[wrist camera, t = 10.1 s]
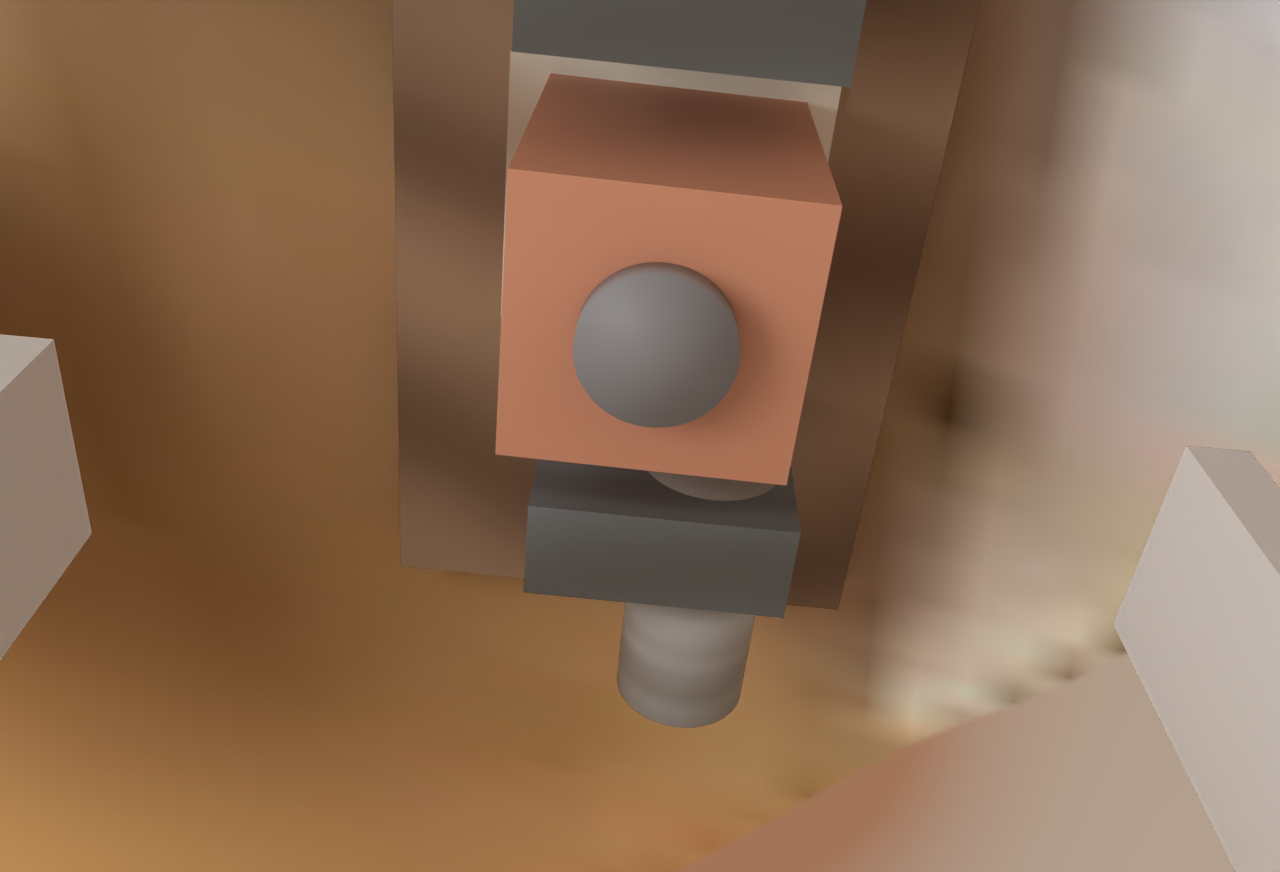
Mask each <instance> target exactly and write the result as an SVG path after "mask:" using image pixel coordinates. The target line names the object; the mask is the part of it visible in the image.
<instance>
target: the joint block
mask: <svg viewBox="0 0 1280 872" xmlns="http://www.w3.org/2000/svg"><path fill="white" fill-rule="evenodd" d="M841 211H842V203H841V200H840V197H839V194H838V191H837V188H836V185H835V182H834V180H833V177H832V174H831V171H830V168H829V165H828V162H827V159H826V156H825V153H824V150H823V147H822V144H821V141H820V138H819V136H818V133H817V130H816V127H815V124H814V121H813V118H812V115H811V112H810V109H809V106H808V103H807V102H800V101H791V100H782V99H774V98H765V97H756V96H747V95H738V94H729V93H721V92H712V91H703V90H694V89H685V88H676V87H668V86H659V85H650V84H641V83H632V82H623V81H615V80H606V79H597V78H588V77H579V76H570V75H562V74H553V73H550V76H549V78H548V80H547V82H546V84H545V87H544V89H543V91H542V93H541V96H540V98H539V100H538V102H537V105H536V107H535V109H534V111H533V114H532V116H531V118H530V120H529V122H528V125H527V127H526V129H525V131H524V134H523V136H522V138H521V140H520V143H519V145H518V147H517V149H516V152H515V154H514V156H513V158H512V160H511V163H510V165H509V167H508V177H507V200H506V223H505V246H504V268H503V291H502V314H501V337H500V359H499V382H498V405H497V427H496V450H495V454H496V455H505V456H515V457H524V458H533V459H543V460H552V461H561V462H571V463H580V464H590V465H599V466H608V467H618V468H627V469H636V470H646V471H655V472H664V473H674V474H683V475H693V476H702V477H711V478H721V479H730V480H739V481H749V482H758V483H767V484H777V485H786V486H787V481H788V476H789V471H790V466H791V461H792V456H793V451H794V446H795V441H796V436H797V431H798V426H799V421H800V416H801V411H802V406H803V401H804V396H805V391H806V386H807V381H808V376H809V371H810V366H811V361H812V356H813V351H814V346H815V341H816V336H817V331H818V326H819V321H820V316H821V311H822V306H823V301H824V296H825V291H826V286H827V281H828V276H829V271H830V266H831V261H832V256H833V251H834V246H835V241H836V236H837V231H838V226H839V221H840V216H841Z"/></svg>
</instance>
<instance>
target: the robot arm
mask: <svg viewBox="0 0 1280 872" xmlns="http://www.w3.org/2000/svg"><path fill="white" fill-rule="evenodd" d="M91 534H92V531H91V526H90V521H89V516H88V511H87V506H86V501H85V495H84V490H83V485H82V480H81V475H80V470H79V465H78V460H77V455H76V450H75V445H74V439H73V434H72V429H71V424H70V419H69V414H68V409H67V404H66V399H65V394H64V388H63V383H62V378H61V373H60V368H59V363H58V358H57V353H56V348H55V343H54V339H45V338H35V337H24V336H13V335H3V334H0V660H1V659H2V658H3V656H4V655H5V653H6V652H7V651H8V649H9V648H10V647H11V645H12V644H13V642H14V641H15V640H16V638H17V637H18V635H19V634H20V633H21V631H22V630H23V628H24V627H25V626H26V624H27V623H28V622H29V620H30V619H31V617H32V616H33V615H34V613H35V612H36V610H37V609H38V608H39V606H40V605H41V604H42V602H43V601H44V599H45V598H46V597H47V595H48V594H49V592H50V591H51V590H52V588H53V587H54V585H55V584H56V583H57V581H58V580H59V579H60V577H61V576H62V574H63V573H64V572H65V570H66V569H67V567H68V566H69V565H70V563H71V562H72V560H73V559H74V558H75V556H76V555H77V554H78V552H79V551H80V549H81V548H82V547H83V545H84V544H85V542H86V541H87V540H88V538H89V537H90V536H91ZM1113 625H1114V627H1115V629H1116V631H1117V633H1118V635H1119V637H1120V639H1121V641H1122V644H1123V646H1124V648H1125V650H1126V652H1127V654H1128V656H1129V658H1130V660H1131V662H1132V664H1133V666H1134V668H1135V670H1136V672H1137V674H1138V676H1139V678H1140V680H1141V682H1142V684H1143V686H1144V688H1145V690H1146V692H1147V694H1148V696H1149V698H1150V700H1151V702H1152V704H1153V706H1154V709H1155V710H1156V713H1157V714H1158V717H1159V719H1160V721H1161V723H1162V725H1163V727H1164V729H1165V731H1166V733H1167V735H1168V737H1169V739H1170V741H1171V743H1172V745H1173V747H1174V749H1175V751H1176V753H1177V755H1178V757H1179V759H1180V761H1181V763H1182V765H1183V767H1184V769H1185V771H1186V773H1187V776H1188V778H1189V780H1190V782H1191V784H1192V786H1193V788H1194V790H1195V792H1196V794H1197V796H1198V798H1199V800H1200V802H1201V804H1202V806H1203V808H1204V810H1205V812H1206V814H1207V816H1208V818H1209V820H1210V822H1211V824H1212V826H1213V828H1214V830H1215V832H1216V834H1217V836H1218V838H1219V840H1220V842H1221V845H1222V846H1223V848H1224V851H1225V853H1226V855H1227V857H1228V859H1229V861H1230V863H1231V865H1232V867H1233V869H1234V871H1235V872H1280V488H1279V487H1278V486H1277V484H1276V483H1275V482H1274V481H1273V479H1272V478H1271V477H1270V476H1269V474H1268V473H1267V472H1266V471H1265V469H1264V468H1263V467H1262V466H1261V464H1260V463H1259V462H1258V461H1257V459H1256V458H1255V457H1254V456H1253V454H1252V453H1251V452H1250V451H1239V450H1228V449H1218V448H1207V447H1196V446H1186V447H1185V450H1184V452H1183V455H1182V457H1181V460H1180V462H1179V464H1178V467H1177V469H1176V472H1175V474H1174V477H1173V479H1172V482H1171V484H1170V486H1169V489H1168V491H1167V494H1166V496H1165V499H1164V501H1163V504H1162V506H1161V509H1160V511H1159V513H1158V516H1157V518H1156V521H1155V523H1154V526H1153V528H1152V531H1151V533H1150V535H1149V538H1148V540H1147V543H1146V545H1145V548H1144V550H1143V553H1142V555H1141V557H1140V560H1139V562H1138V565H1137V567H1136V570H1135V572H1134V575H1133V577H1132V579H1131V582H1130V584H1129V587H1128V589H1127V592H1126V594H1125V597H1124V599H1123V601H1122V604H1121V606H1120V609H1119V611H1118V614H1117V616H1116V619H1115V621H1114V623H1113Z"/></svg>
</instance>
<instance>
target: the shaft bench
mask: <svg viewBox="0 0 1280 872" xmlns="http://www.w3.org/2000/svg"><path fill="white" fill-rule="evenodd" d="M980 1H981V0H392V13H393V81H394V148H395V215H396V283H397V350H398V418H399V485H400V552H401V566H403V567H413V568H423V569H433V570H443V571H453V572H463V573H473V574H483V575H493V576H504V577H514V578H524V592H526V593H536V594H546V595H557V596H567V597H577V598H587V599H597V600H607V601H617V602H625V609H624V618H623V627H622V636H621V645H620V654H619V663H618V671H617V684H618V688H619V691H620V693H621V695H622V697H623V699H624V700H625V701H626V702H627V704H628V705H629V706H630V707H631V708H632V709H634V710H635V711H636V712H638V713H639V714H640V715H642V716H644V717H645V718H647V719H650V720H652V721H654V722H657V723H660V724H663V725H667V726H673V727H682V728H691V727H700V726H705V725H709V724H712V723H715V722H717V721H719V720H721V719H723V718H724V717H726V716H727V715H728V714H729V713H730V712H731V711H732V710H733V709H734V708H735V706H736V705H737V703H738V700H739V697H740V693H741V687H742V682H743V677H744V671H745V666H746V661H747V655H748V650H749V645H750V639H751V634H752V629H753V623H754V618H755V615H759V616H769V617H779V618H784V613H785V608H786V605H796V606H806V607H816V608H827V609H837V610H838V607H839V603H840V599H841V594H842V590H843V586H844V581H845V577H846V573H847V569H848V564H849V560H850V556H851V552H852V547H853V543H854V539H855V535H856V530H857V526H858V522H859V517H860V513H861V509H862V505H863V500H864V496H865V492H866V488H867V483H868V479H869V475H870V470H871V466H872V462H873V458H874V453H875V449H876V445H877V441H878V436H879V432H880V428H881V424H882V419H883V415H884V411H885V406H886V402H887V398H888V394H889V389H890V385H891V381H892V377H893V372H894V368H895V364H896V359H897V355H898V351H899V347H900V342H901V338H902V334H903V330H904V325H905V321H906V317H907V312H908V308H909V304H910V300H911V295H912V291H913V287H914V283H915V278H916V274H917V270H918V266H919V261H920V257H921V253H922V248H923V244H924V240H925V236H926V231H927V227H928V223H929V219H930V214H931V210H932V206H933V201H934V197H935V193H936V189H937V184H938V180H939V176H940V172H941V167H942V163H943V159H944V155H945V150H946V146H947V142H948V137H949V133H950V129H951V125H952V120H953V116H954V112H955V108H956V103H957V99H958V95H959V90H960V86H961V82H962V78H963V73H964V69H965V65H966V61H967V56H968V52H969V48H970V43H971V39H972V35H973V31H974V26H975V22H976V18H977V14H978V9H979V5H980ZM550 73H553V74H562V75H570V76H579V77H588V78H597V79H606V80H615V81H623V82H632V83H641V84H650V85H659V86H668V87H676V88H685V89H694V90H703V91H712V92H721V93H729V94H738V95H747V96H756V97H765V98H774V99H782V100H791V101H800V102H807V103H808V106H809V109H810V112H811V115H812V118H813V121H814V124H815V127H816V130H817V133H818V136H819V138H820V141H821V144H822V147H823V150H824V153H825V156H826V159H827V162H828V165H829V168H830V171H831V174H832V177H833V180H834V182H835V185H836V188H837V191H838V194H839V197H840V200H841V203H842V211H841V216H840V221H839V226H838V231H837V236H836V241H835V246H834V251H833V256H832V261H831V266H830V271H829V276H828V281H827V286H826V291H825V296H824V301H823V306H822V311H821V316H820V321H819V326H818V331H817V336H816V341H815V346H814V351H813V356H812V361H811V366H810V371H809V376H808V381H807V386H806V391H805V396H804V401H803V406H802V411H801V416H800V421H799V426H798V431H797V436H796V441H795V446H794V451H793V456H792V461H791V466H790V471H789V476H788V481H787V486H786V485H777V484H767V483H758V482H749V481H739V480H730V479H721V478H711V477H702V476H693V475H683V474H674V473H664V472H655V471H646V470H636V469H627V468H618V467H608V466H599V465H590V464H580V463H571V462H561V461H552V460H543V459H533V458H524V457H515V456H505V455H496V454H495V450H496V427H497V405H498V382H499V359H500V337H501V314H502V291H503V268H504V246H505V223H506V200H507V177H508V167H509V165H510V163H511V160H512V158H513V156H514V154H515V152H516V149H517V147H518V145H519V143H520V140H521V138H522V136H523V134H524V131H525V129H526V127H527V125H528V122H529V120H530V118H531V116H532V114H533V111H534V109H535V107H536V105H537V102H538V100H539V98H540V96H541V93H542V91H543V89H544V87H545V84H546V82H547V80H548V78H549V76H550Z"/></svg>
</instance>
